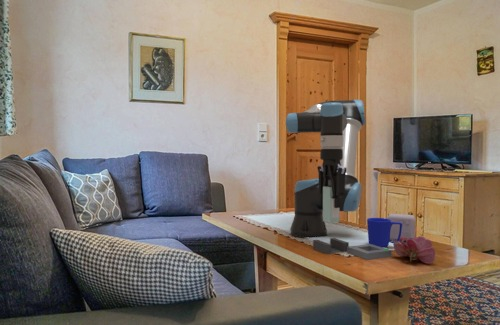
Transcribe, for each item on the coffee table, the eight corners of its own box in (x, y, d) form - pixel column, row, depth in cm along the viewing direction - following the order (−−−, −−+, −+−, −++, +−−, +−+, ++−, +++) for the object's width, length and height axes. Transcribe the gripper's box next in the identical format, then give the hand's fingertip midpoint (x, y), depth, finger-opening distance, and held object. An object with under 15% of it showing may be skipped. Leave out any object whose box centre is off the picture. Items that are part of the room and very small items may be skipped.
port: (346, 254, 131) (346, 245, 131) (370, 251, 136) (370, 242, 136) (367, 261, 122) (367, 252, 122) (391, 258, 126) (391, 249, 126)
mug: (403, 250, 137) (404, 222, 137) (367, 248, 139) (368, 220, 139) (399, 245, 145) (400, 218, 145) (365, 243, 147) (366, 217, 147)
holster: (313, 250, 137) (313, 240, 137) (334, 248, 140) (334, 238, 140) (326, 255, 129) (326, 245, 129) (348, 253, 133) (348, 242, 133)
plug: (322, 220, 136) (323, 179, 135) (332, 220, 138) (332, 179, 137) (329, 222, 132) (329, 180, 132) (339, 222, 134) (339, 180, 133)
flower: (403, 266, 129) (419, 241, 130) (426, 278, 120) (443, 250, 121) (381, 249, 125) (398, 223, 126) (403, 259, 116) (421, 231, 117)
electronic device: (386, 240, 153) (386, 214, 153) (388, 238, 158) (388, 213, 157) (413, 243, 149) (414, 216, 149) (414, 240, 153) (415, 215, 153)
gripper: (308, 148, 140) (308, 213, 141) (337, 148, 125) (337, 221, 126) (326, 148, 143) (325, 211, 144) (356, 148, 128) (356, 219, 129)
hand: (331, 216), depth 135 cm, fingers closed on plug, 4 cm apart
